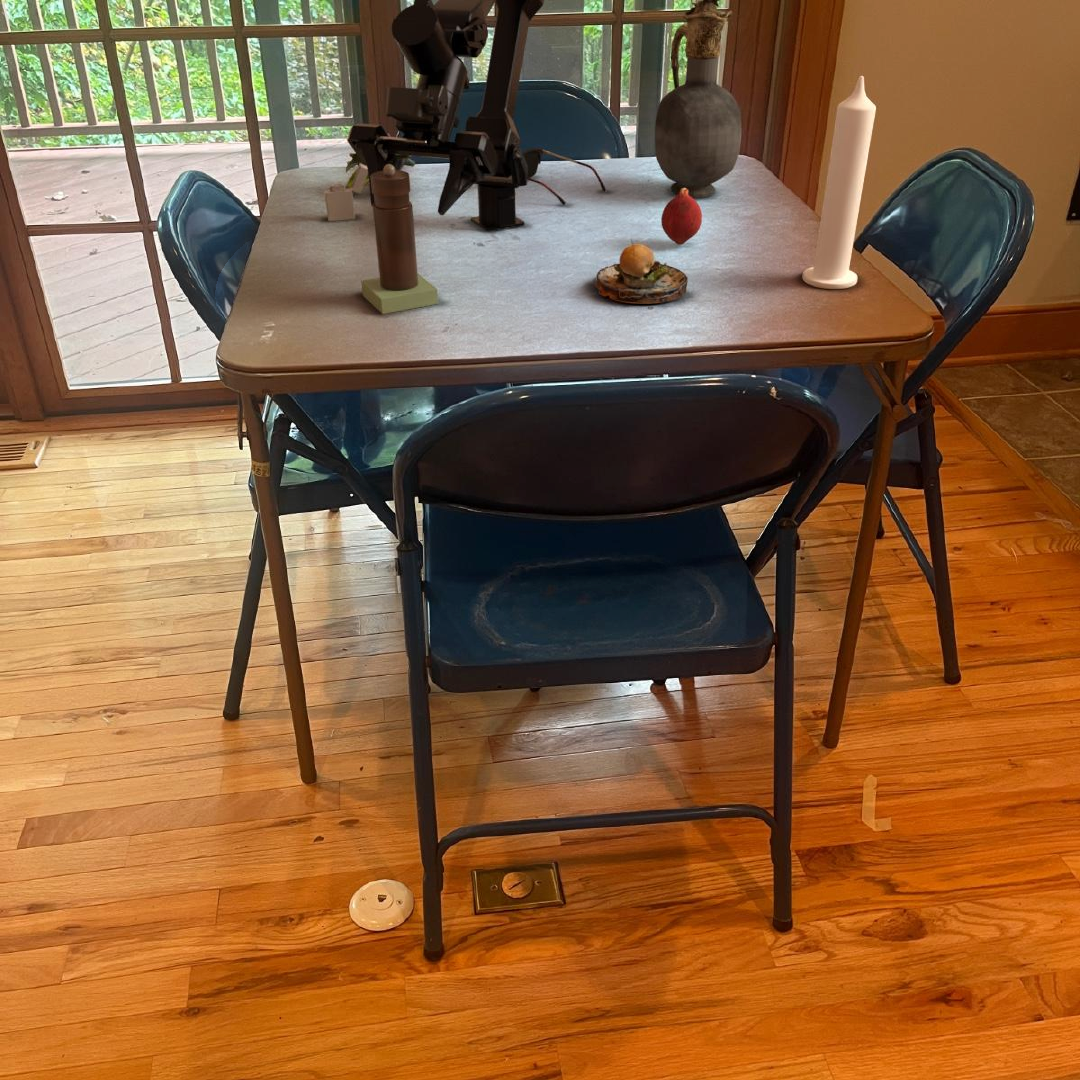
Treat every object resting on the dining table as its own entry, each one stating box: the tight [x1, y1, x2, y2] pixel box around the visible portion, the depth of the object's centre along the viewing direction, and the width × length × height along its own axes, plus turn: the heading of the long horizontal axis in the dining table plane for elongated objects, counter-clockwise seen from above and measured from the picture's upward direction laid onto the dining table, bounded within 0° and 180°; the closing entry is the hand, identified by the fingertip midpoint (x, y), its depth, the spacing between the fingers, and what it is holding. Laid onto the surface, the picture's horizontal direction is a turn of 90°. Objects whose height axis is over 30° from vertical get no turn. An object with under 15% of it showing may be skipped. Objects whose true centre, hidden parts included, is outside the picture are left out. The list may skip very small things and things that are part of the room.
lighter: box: [324, 163, 368, 222], centre depth 156 cm, size 7×2×8 cm, turn 106°
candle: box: [801, 75, 877, 290], centre depth 126 cm, size 7×7×25 cm
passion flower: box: [345, 132, 416, 189], centre depth 169 cm, size 11×11×12 cm
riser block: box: [360, 273, 439, 315], centre depth 128 cm, size 8×8×2 cm
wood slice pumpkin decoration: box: [594, 238, 689, 305], centre depth 129 cm, size 12×12×8 cm
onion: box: [660, 188, 703, 246], centre depth 144 cm, size 6×6×8 cm
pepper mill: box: [370, 164, 419, 291], centre depth 123 cm, size 5×5×15 cm
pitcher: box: [654, 0, 743, 199], centre depth 162 cm, size 11×19×30 cm, turn 17°
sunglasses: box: [522, 147, 607, 206], centre depth 170 cm, size 14×16×5 cm
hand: (406, 210), depth 126 cm, fingers open, 9 cm apart
